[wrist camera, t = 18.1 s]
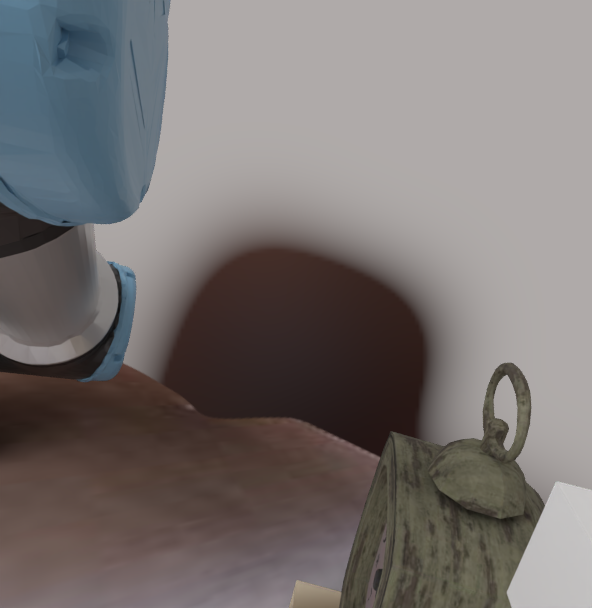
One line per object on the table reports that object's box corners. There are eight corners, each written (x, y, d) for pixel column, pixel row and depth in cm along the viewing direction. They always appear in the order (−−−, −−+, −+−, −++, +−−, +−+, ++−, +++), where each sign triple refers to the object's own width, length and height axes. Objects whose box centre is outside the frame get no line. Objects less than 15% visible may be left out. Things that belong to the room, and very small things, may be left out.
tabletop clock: (330, 614, 43) (426, 308, 35) (448, 652, 42) (573, 347, 34) (302, 840, 29) (451, 417, 21) (477, 902, 28) (696, 485, 20)
